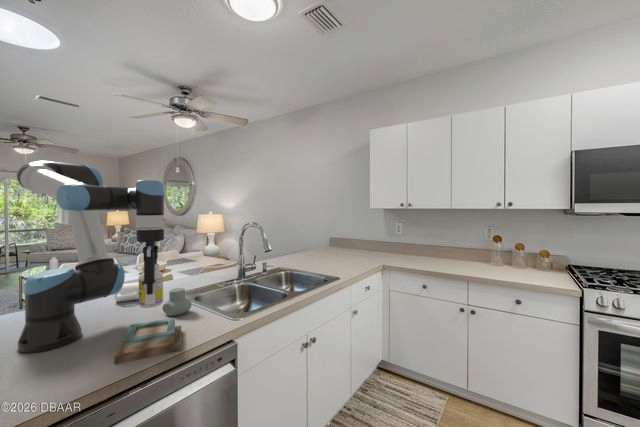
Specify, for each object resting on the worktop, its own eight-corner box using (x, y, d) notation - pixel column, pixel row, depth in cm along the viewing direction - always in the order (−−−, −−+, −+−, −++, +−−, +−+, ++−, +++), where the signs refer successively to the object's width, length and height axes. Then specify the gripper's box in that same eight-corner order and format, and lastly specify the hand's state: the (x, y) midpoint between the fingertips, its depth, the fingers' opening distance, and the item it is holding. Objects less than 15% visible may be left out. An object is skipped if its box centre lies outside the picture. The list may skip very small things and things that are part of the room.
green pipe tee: (194, 312, 117) (194, 289, 117) (176, 319, 110) (176, 294, 110) (177, 308, 122) (177, 285, 122) (159, 314, 115) (159, 290, 115)
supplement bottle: (142, 302, 91) (141, 263, 90) (164, 300, 93) (164, 262, 93) (136, 309, 84) (135, 267, 84) (161, 307, 87) (160, 266, 86)
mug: (118, 299, 134) (118, 282, 134) (142, 296, 138) (142, 280, 138) (112, 307, 123) (112, 289, 123) (138, 303, 128) (138, 286, 128)
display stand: (114, 363, 78) (114, 344, 78) (124, 341, 92) (123, 324, 92) (181, 350, 86) (181, 332, 86) (181, 331, 99) (181, 315, 99)
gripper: (162, 230, 81) (163, 308, 81) (165, 226, 99) (166, 290, 99) (131, 231, 78) (132, 312, 78) (140, 227, 95) (141, 293, 96)
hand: (151, 300), depth 89 cm, fingers closed on supplement bottle, 7 cm apart
